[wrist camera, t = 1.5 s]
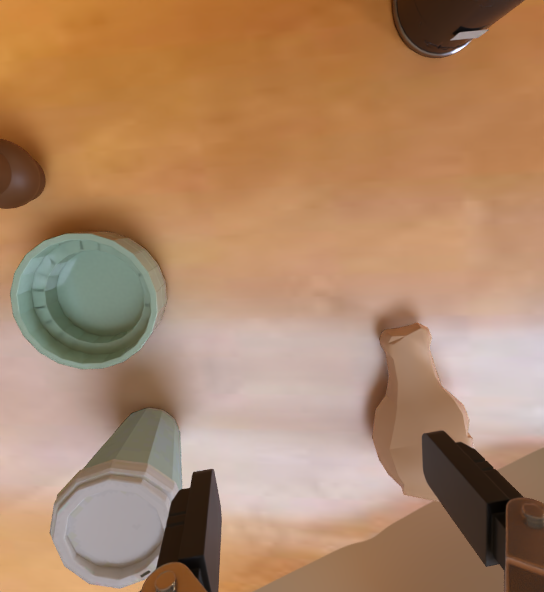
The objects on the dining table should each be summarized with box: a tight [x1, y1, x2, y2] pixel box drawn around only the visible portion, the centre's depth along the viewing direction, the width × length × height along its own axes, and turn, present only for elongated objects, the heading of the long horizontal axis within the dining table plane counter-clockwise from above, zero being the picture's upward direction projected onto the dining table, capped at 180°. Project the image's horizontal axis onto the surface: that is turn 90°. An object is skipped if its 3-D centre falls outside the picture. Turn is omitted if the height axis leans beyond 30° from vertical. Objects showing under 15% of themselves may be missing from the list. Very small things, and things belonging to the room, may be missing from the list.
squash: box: [372, 323, 474, 502], centre depth 41 cm, size 11×20×9 cm, turn 14°
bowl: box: [10, 231, 167, 369], centre depth 36 cm, size 13×13×6 cm
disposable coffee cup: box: [50, 408, 182, 588], centre depth 35 cm, size 11×11×15 cm
